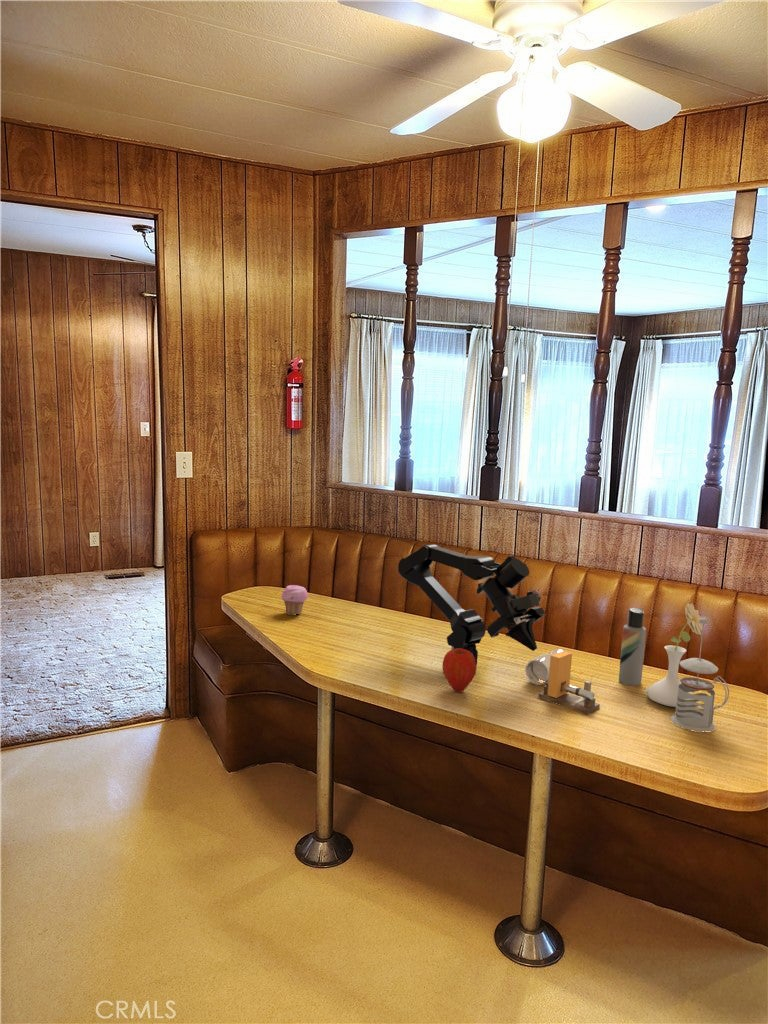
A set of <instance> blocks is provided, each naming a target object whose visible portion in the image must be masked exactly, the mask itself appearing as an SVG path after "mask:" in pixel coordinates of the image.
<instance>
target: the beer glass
mask: <svg viewBox="0 0 768 1024" xmlns="http://www.w3.org/2000/svg"><path fill="white" fill-rule="evenodd" d="M561 651H565V650H563V649H561V648H555V649H553V650H551V651H550V652H549V653H544V654H540V655H537V656H536V657H534V658H533V659H531V660H529V662H528V663H527V664H526V666H525V676H526V677H527V679H528V681H529V682H530V683H532V684H533V685H537V686H541V685H546V679H547V678H549V669H550V657H551V655H553V654H556V653H558V652H561ZM539 679H540V680H543V681H545V682H543V683H540V682H538V681H539Z"/></svg>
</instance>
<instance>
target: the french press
mask: <svg viewBox="0 0 768 1024" xmlns="http://www.w3.org/2000/svg"><path fill="white" fill-rule="evenodd" d="M699 623H702V626H703V628H702V630H701V631H702V632H701V638H700V639H701V640H700V647H699V648H700V649H699V657H690V658H687V659H684V660H680V663H679V666H680V667H681V668H682V669H684V670H685V671H689V672H693V673H697V675H696V677H691V676H688V677H687V676H685V677H682V678H680V679H679V680H680V681H681V683H682V684H679V686H678V694H677V703H676V707H675V713H674V714H672V715H671V716H672V717H670V718H669V721H670V722H671V721H672V722H673V723H674V724H673V723H672V722H671V723H672V724H673V725H675V724H676V725H678V726H680V727H683V728H686V729H689V730H694V731H700V732H699V733H701V732H702V731H704V732H705V731H712V730H714V729H715V727H716V728H717V726H716V725H715V723H714V722H713V721H714V713H715V710H717V709H720V708H722V707H723V706H724V705H726V704H727V702H728V700H729V698H730V697H729V696H730V689H729V686H728V683H727V681H726V680H725V679H724V678H722V677H721V675H717V676H715V677H713V682H710V681H709V680H705V679H702V678H699V675H700V674H702V675H704V674H705V675H712V674H716V673H717V672H718V670H719V668H718V666H716V665H715V664H714V663H713V662H711V661H710V660H706V659H704V658H701V656H702V655H701V654H702V645H703V636H704V631H703V629H705V627H704V625H709V620H708V619H707V617H701V619H700V620H699ZM719 678H720V679H721V680H722V681H721V680H720V679H719ZM717 681H718V682H720V684H721V685H722V687H723V689H724V693H725V695H724V701H723V702H722V704H721V705H715V697H716V691H715V690H714V687H715V685H714V684H716V683H717ZM723 682H724V683H723ZM713 683H714V684H713ZM699 691H705V692H707V693H709V694H710V695H709V694H707V693H704V692H699ZM687 692H692V694H690V693H687ZM694 692H698V693H694ZM683 699H694V700H683ZM699 702H702V703H699ZM687 704H691V705H687ZM714 705H715V706H714ZM697 707H700V708H697ZM676 725H675V726H676ZM678 726H677V727H678ZM680 727H679V728H680ZM683 728H682V729H683ZM689 730H688V731H689Z"/></svg>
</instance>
